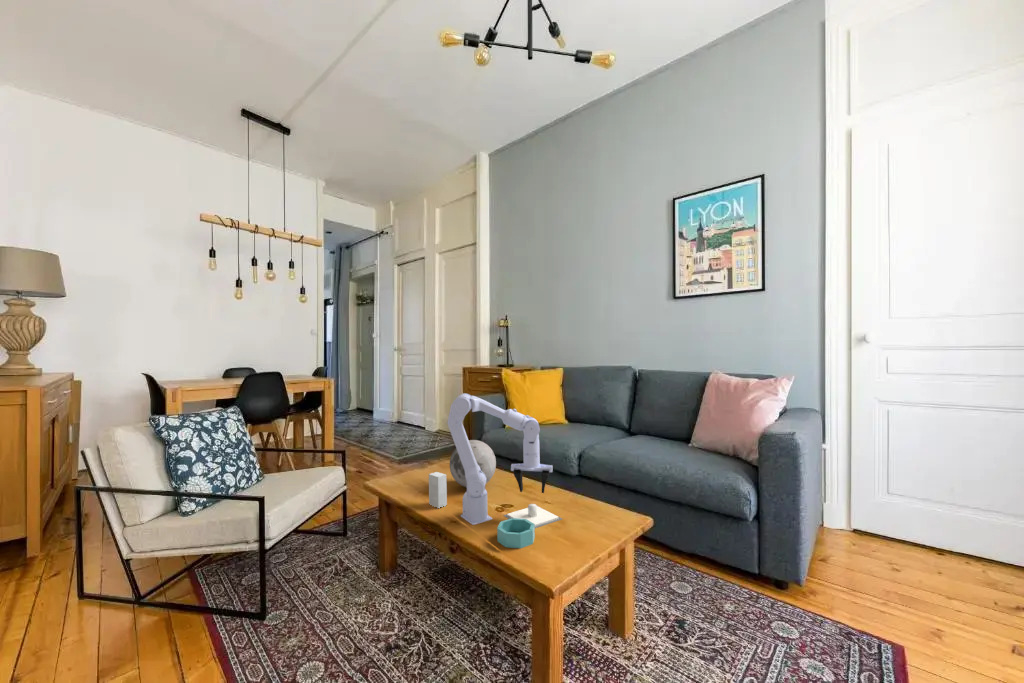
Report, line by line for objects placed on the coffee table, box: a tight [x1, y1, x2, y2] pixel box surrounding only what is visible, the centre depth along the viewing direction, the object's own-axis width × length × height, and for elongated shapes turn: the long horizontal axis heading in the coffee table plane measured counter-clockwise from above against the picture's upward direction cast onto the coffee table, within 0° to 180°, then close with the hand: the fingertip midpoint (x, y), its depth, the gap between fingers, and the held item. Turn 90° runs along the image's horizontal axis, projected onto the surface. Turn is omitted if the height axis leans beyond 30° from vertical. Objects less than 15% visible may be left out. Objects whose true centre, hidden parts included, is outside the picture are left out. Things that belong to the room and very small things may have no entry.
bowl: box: [496, 518, 536, 549], centre depth 129 cm, size 11×11×4 cm
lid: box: [506, 503, 560, 526], centre depth 145 cm, size 13×13×4 cm
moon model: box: [449, 439, 497, 488], centre depth 178 cm, size 20×20×20 cm
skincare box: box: [428, 471, 448, 509], centre depth 158 cm, size 6×4×12 cm
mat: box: [502, 513, 563, 529], centre depth 145 cm, size 15×15×1 cm
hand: (532, 491), depth 145 cm, fingers open, 7 cm apart
